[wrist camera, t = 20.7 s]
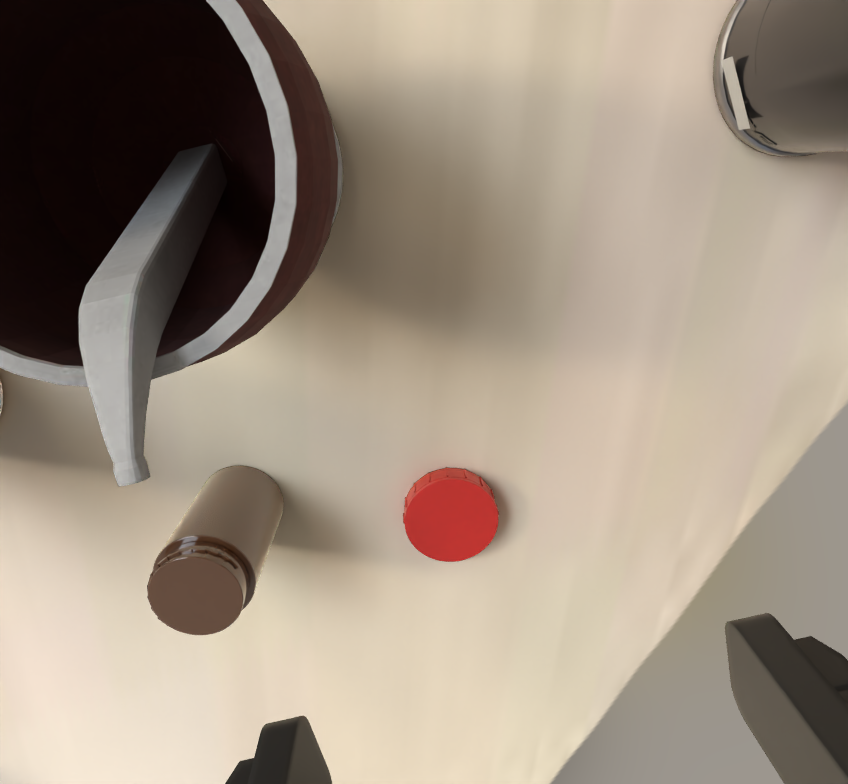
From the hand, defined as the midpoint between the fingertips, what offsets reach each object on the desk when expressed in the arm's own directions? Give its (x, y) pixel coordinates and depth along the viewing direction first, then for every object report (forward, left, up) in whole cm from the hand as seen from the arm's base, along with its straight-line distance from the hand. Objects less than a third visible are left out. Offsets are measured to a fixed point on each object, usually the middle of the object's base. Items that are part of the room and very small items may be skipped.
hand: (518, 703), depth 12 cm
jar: (+16, 0, -26) cm, 31 cm away
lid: (+6, +9, -25) cm, 27 cm away
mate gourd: (+3, -14, -26) cm, 30 cm away
